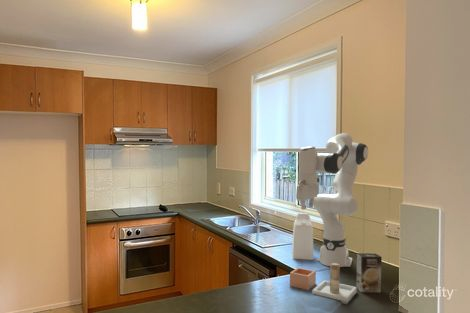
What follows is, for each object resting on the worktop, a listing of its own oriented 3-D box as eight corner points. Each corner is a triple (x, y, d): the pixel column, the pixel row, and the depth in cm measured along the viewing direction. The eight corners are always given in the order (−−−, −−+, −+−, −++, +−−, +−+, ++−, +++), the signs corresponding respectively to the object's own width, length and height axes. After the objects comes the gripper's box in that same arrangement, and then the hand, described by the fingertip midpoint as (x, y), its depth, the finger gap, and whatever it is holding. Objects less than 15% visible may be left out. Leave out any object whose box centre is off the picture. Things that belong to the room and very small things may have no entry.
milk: (311, 254, 224) (312, 212, 223) (313, 259, 212) (314, 215, 212) (291, 253, 225) (292, 211, 225) (292, 258, 213) (293, 214, 213)
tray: (324, 285, 170) (324, 280, 170) (356, 292, 162) (356, 287, 162) (312, 295, 158) (312, 290, 158) (346, 304, 150) (346, 298, 150)
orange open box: (297, 282, 175) (297, 267, 175) (315, 286, 170) (315, 271, 170) (289, 287, 167) (289, 272, 167) (308, 292, 162) (308, 276, 162)
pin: (331, 289, 163) (331, 262, 163) (340, 291, 161) (340, 264, 161) (328, 292, 160) (328, 265, 159) (337, 294, 157) (337, 266, 157)
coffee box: (361, 292, 162) (361, 256, 162) (355, 287, 169) (356, 252, 169) (381, 292, 163) (381, 256, 163) (375, 287, 169) (375, 253, 169)
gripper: (305, 181, 167) (305, 211, 167) (320, 178, 184) (320, 205, 185) (292, 181, 170) (292, 210, 171) (308, 178, 188) (308, 204, 188)
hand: (307, 208), depth 178 cm, fingers open, 8 cm apart
